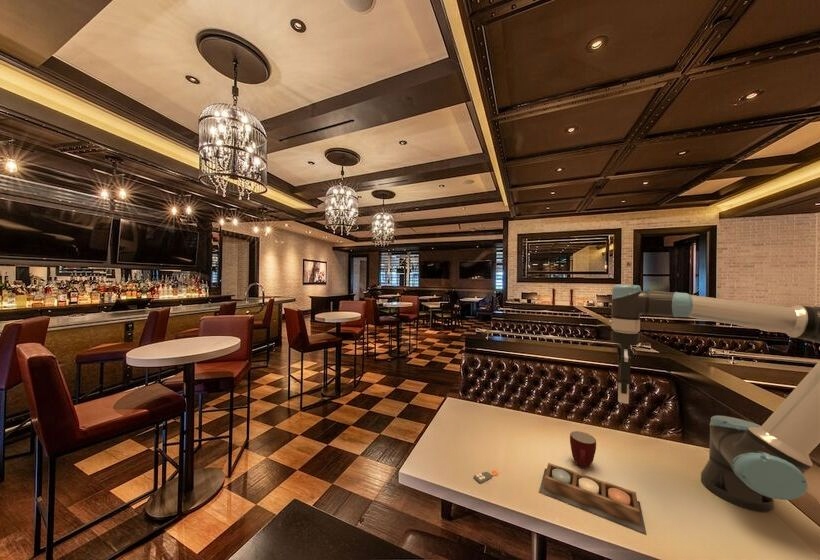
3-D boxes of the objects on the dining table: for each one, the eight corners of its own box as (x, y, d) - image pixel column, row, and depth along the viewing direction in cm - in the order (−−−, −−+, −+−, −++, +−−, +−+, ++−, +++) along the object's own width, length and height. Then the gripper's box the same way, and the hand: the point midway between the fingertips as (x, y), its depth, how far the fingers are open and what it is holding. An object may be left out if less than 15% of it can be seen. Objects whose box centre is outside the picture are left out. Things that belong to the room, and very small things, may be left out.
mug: (599, 479, 95) (600, 450, 94) (571, 472, 98) (572, 444, 98) (593, 461, 104) (593, 434, 104) (568, 455, 107) (568, 429, 107)
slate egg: (570, 482, 92) (570, 472, 92) (569, 492, 87) (569, 482, 87) (552, 476, 95) (553, 466, 94) (550, 485, 90) (551, 475, 90)
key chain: (480, 486, 91) (480, 481, 91) (472, 479, 95) (472, 474, 95) (509, 473, 97) (509, 469, 97) (500, 467, 101) (500, 463, 101)
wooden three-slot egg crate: (639, 502, 85) (640, 489, 85) (646, 535, 74) (646, 520, 74) (545, 469, 99) (545, 457, 99) (538, 492, 88) (539, 479, 88)
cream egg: (598, 492, 88) (598, 482, 88) (598, 503, 83) (599, 492, 83) (578, 485, 90) (579, 475, 90) (578, 495, 86) (578, 485, 86)
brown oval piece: (629, 503, 83) (629, 492, 83) (630, 515, 79) (631, 504, 79) (607, 495, 86) (607, 485, 86) (608, 507, 82) (608, 496, 82)
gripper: (610, 327, 101) (608, 392, 102) (612, 333, 90) (610, 406, 91) (636, 329, 97) (635, 397, 97) (642, 336, 86) (640, 412, 87)
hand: (623, 401), depth 94 cm, fingers closed
